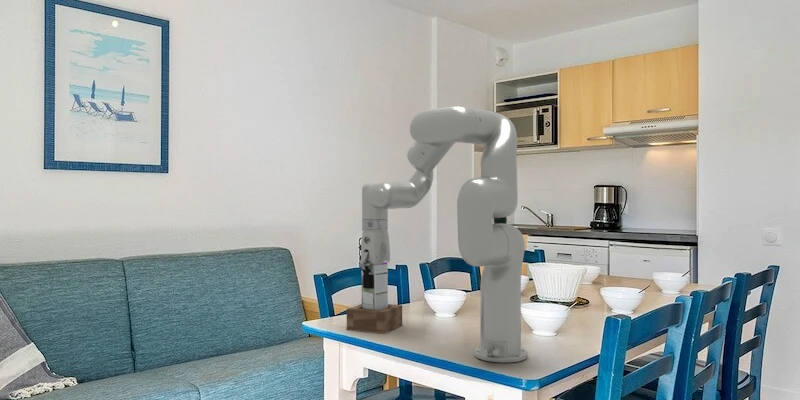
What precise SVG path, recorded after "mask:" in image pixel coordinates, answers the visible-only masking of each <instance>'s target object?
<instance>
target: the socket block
mask: <svg viewBox="0 0 800 400" xmlns="http://www.w3.org/2000/svg"><path fill="white" fill-rule="evenodd" d="M402 326H403V305H401V304H393V303H388V308H385V309H382V310H372V309H362V303H361V304H357V305H354V306H351V307H348V308H346V330H347V331H354V332H356V331H357V332H366V333H371V334H383V335H385V334H386V333H389V332H391V331H393V330H395V328H396V329H398V328H400V327H402Z"/></svg>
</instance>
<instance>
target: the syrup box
mask: <svg viewBox="0 0 800 400" xmlns="http://www.w3.org/2000/svg"><path fill="white" fill-rule="evenodd" d="M367 263H369V264H372V263H371V262H367ZM388 265H389V262H388V261H387V260H384V261H383V264H381V265H377V266H376V265H374V264H373V273H372V275H374V288H373V289H367V288H363V274H362V273H361V304H362V309H372V310H382V309H385V308H388V304H389V303H388V302H389V297H388V295H389V291H388V287H389V284H388V283H389V282H388V279H389V278H388V275H389V274H388V273H389V270H388V269H389V267H388ZM369 269H370V267H369Z"/></svg>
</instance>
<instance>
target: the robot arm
mask: <svg viewBox="0 0 800 400" xmlns="http://www.w3.org/2000/svg"><path fill="white" fill-rule="evenodd" d="M409 131H410V132H409V134H410V137H411V138H412V139H413V141H415V142H413V143H412V145H411V147H409V149H408V151H407V153H406V157H407V160H408V162H409V163H410V165H411V166H412V167H413V168H414V169H415V172H414V173H413V175H412V176H411V177H410V178H409V180H408V181H407V182H405V181H394V182H390V181H387V182H386V181H384V182H379V183H377V182H376V183H375V182H374V183H365V184H363V186H361V187H362V189H361V231H362V234H361V245H360V260H359V266H360V269H361V275H362V274H363V288H367V289H373V288H374V275H372V273H373V264H374V265H376V266H377V265H381V264H383V261H384V260H387V261H388V263H390V261H391V250H390V249H391V248H390V237H389V236H390V235H389V229H388V227H389V226H388V225H389V224H388V223H389V220H388V217H389V215H388V213H389V210H395V209H397V210H398V209H412V208H414V207H416V206H417V205H418V204H419V203H420V202H421V201H422V200H423V199H424V198H425V196H426V195H427V194H428V193H429V191H430V190H431V187H432V185H433V182H434V169H435V168H436V167H437V166H438V165H439V163H440V162H441V160H443V158H444V157H445V156H446V154H447V153H448V152H449V151H450V150H451V149H452V147H453V146H454V145H455V144H456V143H462V144H472V145H473V144H475V145H483V146H485V148H484V150H483V152H482V155H481V158H480V177H473V178H469V179H468V180H466V181H465V182H464V183H463V185H462V186H461V187H460V189H459V192H458V195H457V199H456V200H457V201H456V205H457V206H456V209H457V210H456V211H457V212H456V214H457V218H456V219H457V245H458V251H459V254H460V256H461V259H462V260H464V262H465V263H466V264H467V265H470V266H472V267H483V269H482V273H481V275H480V276H481V277H480V291H479V292H480V295H479V296H480V303H479V304H480V310H479V312H480V315H479V316H480V319H479V320H480V322H479V323H480V342H479V343H480V346H478V347H475V348H474V349H473V355H474V357H475V358H477V359H479V360H482V361H484V362H485V361H487V362H490V363H491V362H492V363H502V364H503V363H506V364H507V363H517V362H518V363H519V362H523V361H525V360H526V359H528V351H527V350H526V349H523V348H522V340H521V339H522V336H521V335H522V334H521V333H522V323H521V322H522V317H521V316H522V314H521V313H522V311H521V310H522V307H521V306H522V304H521V303H522V300H521V299H522V296H521V294H522V271H523V270H522V267H523V263H524V256H525V247H526V245H525V238H524V236H523V234H522V232H521V231H520V229H518V228H517V227H516V226H514V225H512V224H509V223H507V224H494V218H502V217H507V218H508V217H510V216H511V215H513V214H514V213H515V212H516V210H517V208H518V202H519V201H518V197H519V195H518V168H517V166H518V165H517V153H518V151H517V150H518V149H517V148H518V136H517V135H518V133H517V129H516V126H515V124H514V123H513V122H512V120H511V119H510V118H509V117H507V116H505V115H504V114H501V113H498V112H496V111H491V110H487V109H481V108H474V107H467V106H457V105H456V106H447V107H440V108H431V109H424V110H421V111H419V112H418V113H417V114H415V115H414V116H413V118H412V120H411V121H410V125H409ZM367 262H371V263H372V264H369V263H367ZM369 267H370V269H369Z"/></svg>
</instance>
